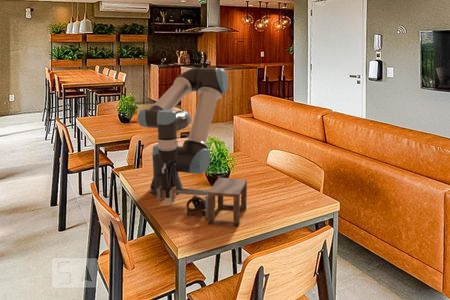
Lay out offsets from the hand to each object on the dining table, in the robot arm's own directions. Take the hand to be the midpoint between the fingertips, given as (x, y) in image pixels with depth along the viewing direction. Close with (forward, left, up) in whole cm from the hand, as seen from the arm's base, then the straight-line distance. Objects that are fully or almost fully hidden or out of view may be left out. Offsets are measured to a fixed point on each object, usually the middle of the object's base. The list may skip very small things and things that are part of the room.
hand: (169, 203), depth 175 cm
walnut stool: (+25, 0, -3) cm, 25 cm away
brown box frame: (+7, 0, -2) cm, 8 cm away
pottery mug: (+12, +1, -4) cm, 13 cm away
